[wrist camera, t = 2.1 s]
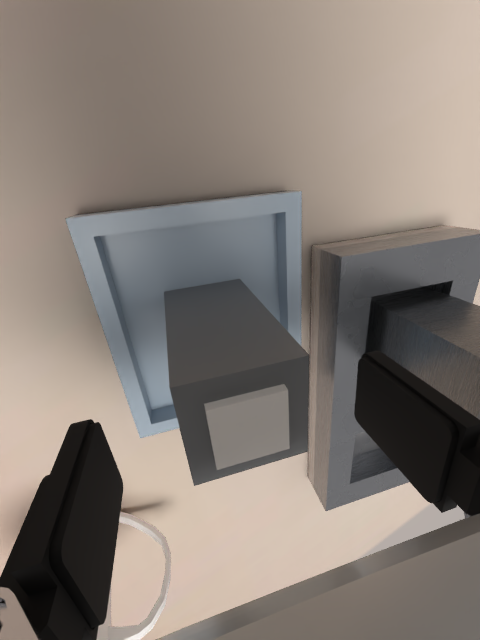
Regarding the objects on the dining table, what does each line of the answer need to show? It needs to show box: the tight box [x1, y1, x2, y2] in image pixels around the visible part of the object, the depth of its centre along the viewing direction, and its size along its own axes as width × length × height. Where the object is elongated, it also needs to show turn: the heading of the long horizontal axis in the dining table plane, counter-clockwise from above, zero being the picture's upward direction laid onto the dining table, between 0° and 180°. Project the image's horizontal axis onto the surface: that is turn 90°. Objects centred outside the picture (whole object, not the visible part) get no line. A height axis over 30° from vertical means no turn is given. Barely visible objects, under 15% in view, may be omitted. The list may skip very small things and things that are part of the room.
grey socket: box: [308, 225, 480, 511], centre depth 17 cm, size 20×9×9 cm, turn 5°
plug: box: [164, 279, 309, 486], centre depth 12 cm, size 4×4×8 cm
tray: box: [65, 191, 302, 438], centre depth 16 cm, size 12×10×2 cm
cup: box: [97, 512, 171, 640], centre depth 17 cm, size 7×10×8 cm
